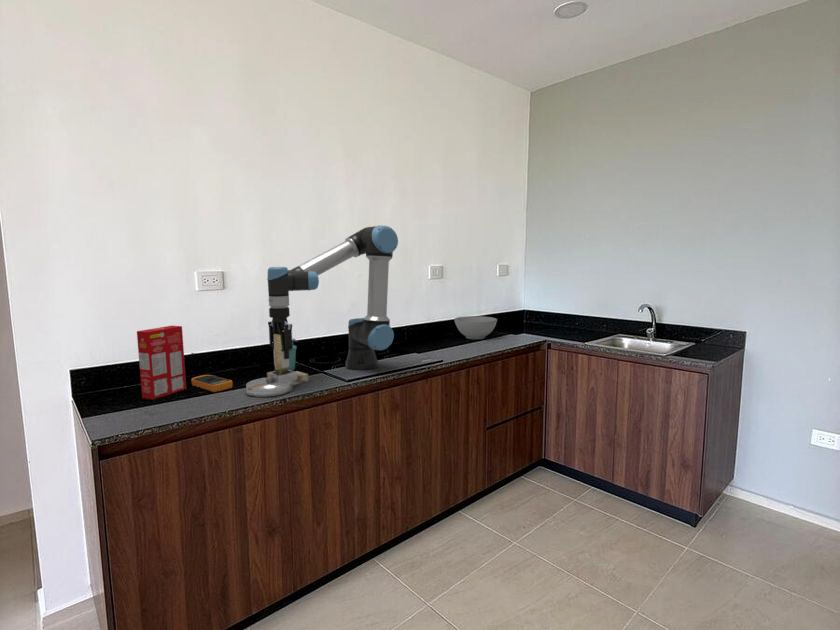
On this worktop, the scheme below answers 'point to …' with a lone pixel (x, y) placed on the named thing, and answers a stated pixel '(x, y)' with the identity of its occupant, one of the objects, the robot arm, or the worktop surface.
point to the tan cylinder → (279, 356)
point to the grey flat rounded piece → (271, 385)
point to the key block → (300, 378)
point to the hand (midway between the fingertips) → (281, 365)
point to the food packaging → (161, 361)
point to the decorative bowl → (475, 326)
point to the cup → (292, 356)
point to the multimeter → (212, 383)
